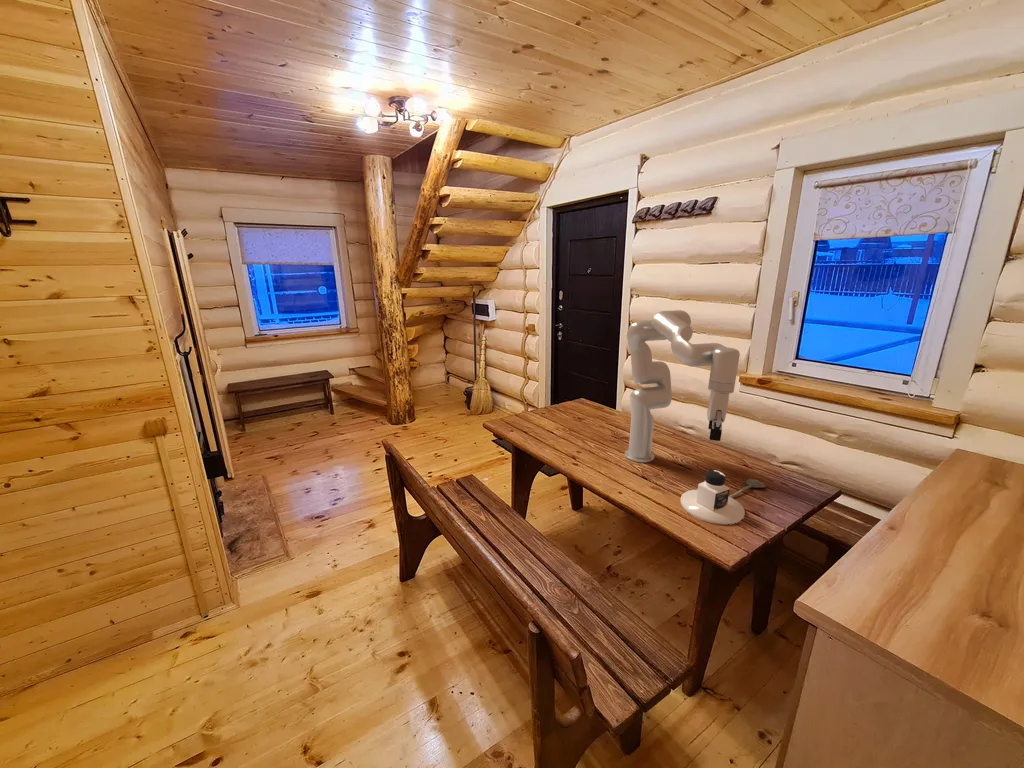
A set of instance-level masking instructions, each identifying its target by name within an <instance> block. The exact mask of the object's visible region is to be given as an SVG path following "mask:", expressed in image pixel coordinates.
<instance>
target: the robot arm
mask: <svg viewBox="0 0 1024 768" xmlns="http://www.w3.org/2000/svg"><path fill="white" fill-rule="evenodd" d="M691 325H692V320H691V316H690V314H689V313H688V312H687V311H685V310H681V309H680V310H678V309H677V310H663V311H662V310H661V311H659V312H657V313H655V314H654V315H653V316H652V319H649V320H648V319H647V320H638V321H634V322H632V323H631V324H630V325H629V327H628V329H627V332H626V341H627V345H628V348H629V351H630V361H631V363H630V364H631V375H632V381H633V382H634V384H637V385H642V386H643V385H654V386H647V387H641V388H636V389H634V390H632V391H631V393H630V396H629V401H630V411H631V412H630V429H629V442H628V449H626V450H625V451H624V456H625V457H626V459H628V460H629V461H632V462H637V463H651V462H652V461H654V460H655V454H654V453H653V452H652V447H653V446H652V445H653V438H654V437H653V435H654V427H655V426H654V423H655V419H654V416H653V415H652V413H651V410H656V409H664V408H667V407H669V406H670V405H671V404H672V401H673V400H672V396H673V395H672V382H671V381H672V379H671V378H672V376H671V370H670V368H669V366H668V365H667V363H666V362H664V361H661V360H658V361H655V360H653V357H652V354H653V353H652V350H651V348H650V346H649V345H648V343H647V342H653V341H654V342H655V341H656V342H657V341H666V340H668V341H669V342H670V348H671V351H672V354H673V356H674V357H675V358H676V359H677V360H679V361H680V362H681V363H682V364H684V365H686V366H688V367H691V368H695V367H696V368H697V367H706V366H709V367H710V373H709V378H708V379H709V380H708V387H707V389H708V390H709V391H710V394H709V398H708V405H707V410H706V413H707V414H706V416H707V420H708V430H710V433H709V438H708V439H709V440H710V441H716V442H721V439H722V434H723V433H722V431H723V423H724V422H725V421H726V416H727V411H728V404H729V398H730V394H733V393H734V392H735V388H736V379H737V373H738V367H739V361H740V355H741V353H740V351H739V349H736V348H734V347H733V348H732V347H727V346H725V345H724V344H721V343H718V342H711V343H710V342H709V343H708V342H707V343H705V342H704V343H695V344H694V343H691V342H689V341H690V340H691V338H692V336H693V333H694V332H693V328H692V326H691Z"/></svg>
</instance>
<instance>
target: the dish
mask: <svg viewBox="0 0 1024 768" xmlns="http://www.w3.org/2000/svg"><path fill="white" fill-rule="evenodd" d="M697 491H698V489H690V490H687V491H685V492H682V494H681V497H680V506H681V507H682V508H683V510H684V511H685V512H687V513H688V514H689V515H690V516H692V517H694V518H696V519H698V520H700V521H703V522H706V523H710V524H715V525H725V526H730V525H736V524H738V522H739V523H740V522H742V521H743V520H744V518H745V513H746V512H745V508H744V506H743V505H742V504H741V503H740V502H739V501H737V500H736V499H734V497H732V498H731V497H728V503H727V506H726V507H724V508H721V509H719V510H716V511H712V510H710V509H708V508H706V507H705V506H703V505H701V504H699V503H698V502H696V498H697ZM742 519H743V520H742ZM741 520H742V521H741ZM735 523H736V524H735ZM728 524H729V525H728Z"/></svg>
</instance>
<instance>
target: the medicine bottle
mask: <svg viewBox="0 0 1024 768" xmlns="http://www.w3.org/2000/svg"><path fill="white" fill-rule="evenodd" d="M725 481H726V475H725V474H724V473H723V472H721V471H719V470H714V469H711V470H707V471H706V472H705V477H704V481H702V482H700V483H698V485H697V490H698V491H697V498H696V502H698V503H699V504H701V505H703V506H705V507H706V508H708V509H710V510H712V511H716V510H719V509H721V508H724V507H726V506H727V503H728V497H729V496H730V487H728V486H726V485H725V483H726V482H725Z"/></svg>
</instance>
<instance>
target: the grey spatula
mask: <svg viewBox="0 0 1024 768" xmlns="http://www.w3.org/2000/svg"><path fill="white" fill-rule="evenodd" d="M745 482H746V486H744V487H743V488H741V489H740V490H738V491H736V492H734V493H732V494H729V497H731V498H734V497H735V496H736V495H738V494H740V493H742V492H743V491H746V490H747V489H750V488H767V486H766V485H765V483H763V482H762V481H760V480H758V479H754V478H749V479H748V478H747V479H746V481H745Z"/></svg>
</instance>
